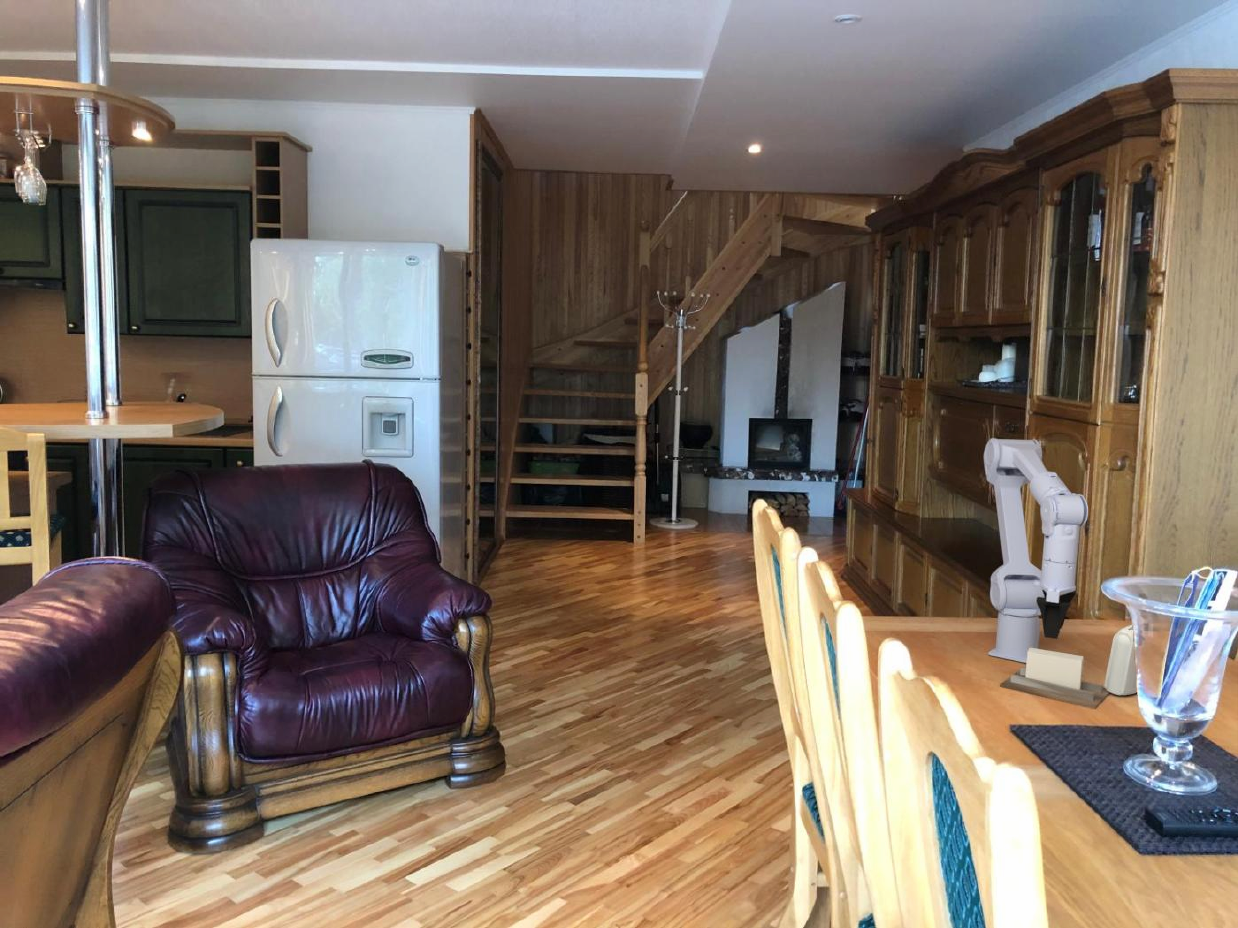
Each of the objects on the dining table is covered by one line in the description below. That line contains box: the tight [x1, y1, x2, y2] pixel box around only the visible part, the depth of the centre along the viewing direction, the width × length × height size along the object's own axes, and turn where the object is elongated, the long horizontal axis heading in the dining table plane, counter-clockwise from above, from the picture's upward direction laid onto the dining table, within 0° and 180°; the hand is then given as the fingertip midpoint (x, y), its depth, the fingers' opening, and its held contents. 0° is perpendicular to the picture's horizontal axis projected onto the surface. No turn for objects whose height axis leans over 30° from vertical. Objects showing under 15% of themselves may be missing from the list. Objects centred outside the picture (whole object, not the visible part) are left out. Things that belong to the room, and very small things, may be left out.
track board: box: [999, 667, 1111, 710], centre depth 177 cm, size 12×16×2 cm
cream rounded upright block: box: [1103, 624, 1136, 696], centre depth 176 cm, size 10×4×12 cm, turn 123°
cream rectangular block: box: [1025, 648, 1084, 690], centre depth 177 cm, size 3×9×6 cm, turn 59°
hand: (1053, 632), depth 179 cm, fingers open, 7 cm apart
